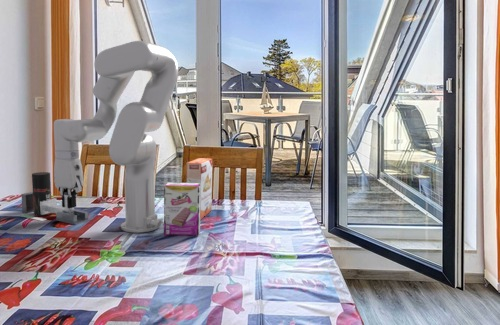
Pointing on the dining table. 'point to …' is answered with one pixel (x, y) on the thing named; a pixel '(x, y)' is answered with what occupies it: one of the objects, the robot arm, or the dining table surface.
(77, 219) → the grey metal bracket
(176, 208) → the candy bar box
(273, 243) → the dining table surface
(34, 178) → the deodorant
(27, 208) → the grey flat block
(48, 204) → the grey angular piece
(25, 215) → the green band
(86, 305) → the dining table surface
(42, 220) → the strips
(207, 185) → the cracker box
